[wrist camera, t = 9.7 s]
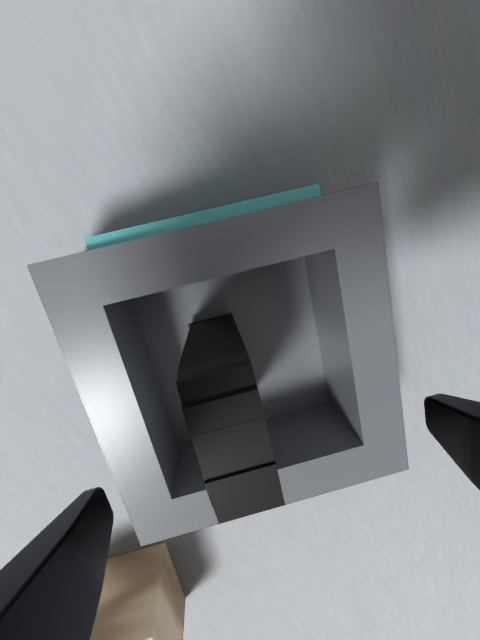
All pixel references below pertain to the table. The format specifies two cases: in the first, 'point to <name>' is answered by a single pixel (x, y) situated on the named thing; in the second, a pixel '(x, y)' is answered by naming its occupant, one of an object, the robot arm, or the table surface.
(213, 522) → the grey square open box
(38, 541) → the robot arm
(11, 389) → the table surface
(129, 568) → the wooden block
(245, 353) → the ink cartridge
